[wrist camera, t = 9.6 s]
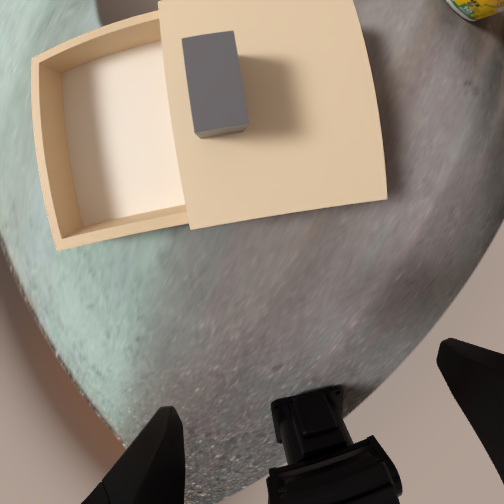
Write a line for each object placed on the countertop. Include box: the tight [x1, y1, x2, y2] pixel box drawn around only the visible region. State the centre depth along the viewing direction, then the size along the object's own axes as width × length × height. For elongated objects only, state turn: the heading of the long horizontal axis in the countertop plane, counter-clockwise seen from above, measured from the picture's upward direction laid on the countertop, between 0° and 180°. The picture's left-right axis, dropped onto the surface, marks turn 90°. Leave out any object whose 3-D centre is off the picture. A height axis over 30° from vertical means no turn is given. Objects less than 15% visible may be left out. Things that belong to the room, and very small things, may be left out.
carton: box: [31, 10, 189, 251], centre depth 14 cm, size 12×10×4 cm
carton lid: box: [158, 0, 387, 230], centre depth 11 cm, size 12×10×4 cm
